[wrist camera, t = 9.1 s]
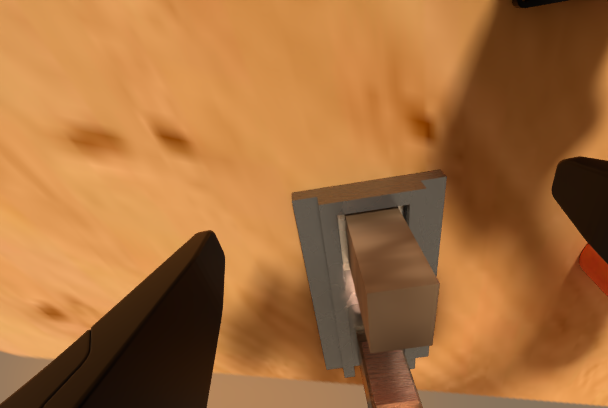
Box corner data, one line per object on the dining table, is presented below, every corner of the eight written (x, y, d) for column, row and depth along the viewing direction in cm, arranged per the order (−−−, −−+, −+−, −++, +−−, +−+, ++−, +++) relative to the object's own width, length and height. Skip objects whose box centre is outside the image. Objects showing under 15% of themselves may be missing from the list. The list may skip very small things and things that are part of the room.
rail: (440, 169, 21) (512, 248, 14) (424, 346, 32) (461, 439, 25) (291, 192, 22) (294, 280, 15) (325, 360, 32) (336, 455, 26)
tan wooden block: (396, 204, 21) (439, 283, 15) (395, 265, 24) (431, 351, 18) (344, 212, 21) (366, 293, 15) (350, 272, 24) (370, 359, 18)
